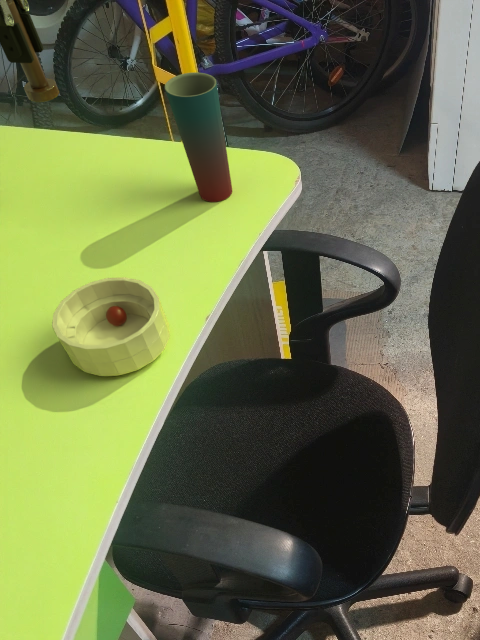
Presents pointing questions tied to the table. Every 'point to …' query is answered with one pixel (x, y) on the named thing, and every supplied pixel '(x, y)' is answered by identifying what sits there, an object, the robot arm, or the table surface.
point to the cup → (201, 132)
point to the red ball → (116, 316)
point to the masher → (34, 68)
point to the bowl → (112, 326)
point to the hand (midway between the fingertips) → (26, 55)
